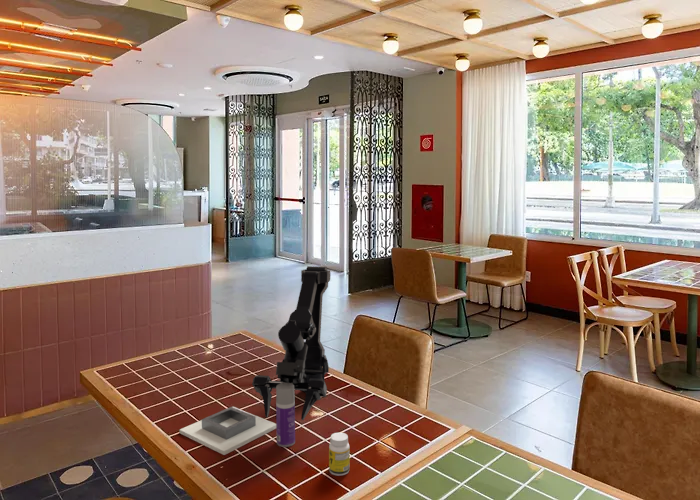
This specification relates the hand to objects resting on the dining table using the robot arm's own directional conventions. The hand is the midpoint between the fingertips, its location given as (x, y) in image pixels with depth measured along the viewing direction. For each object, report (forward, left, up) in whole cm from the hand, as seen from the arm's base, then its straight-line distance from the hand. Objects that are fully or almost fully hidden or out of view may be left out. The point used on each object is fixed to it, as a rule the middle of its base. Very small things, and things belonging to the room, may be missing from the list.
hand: (284, 418), depth 134 cm
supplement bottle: (-7, +17, -7) cm, 20 cm away
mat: (+10, -14, -7) cm, 19 cm away
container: (-1, -1, -7) cm, 7 cm away
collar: (+10, -14, -7) cm, 19 cm away
